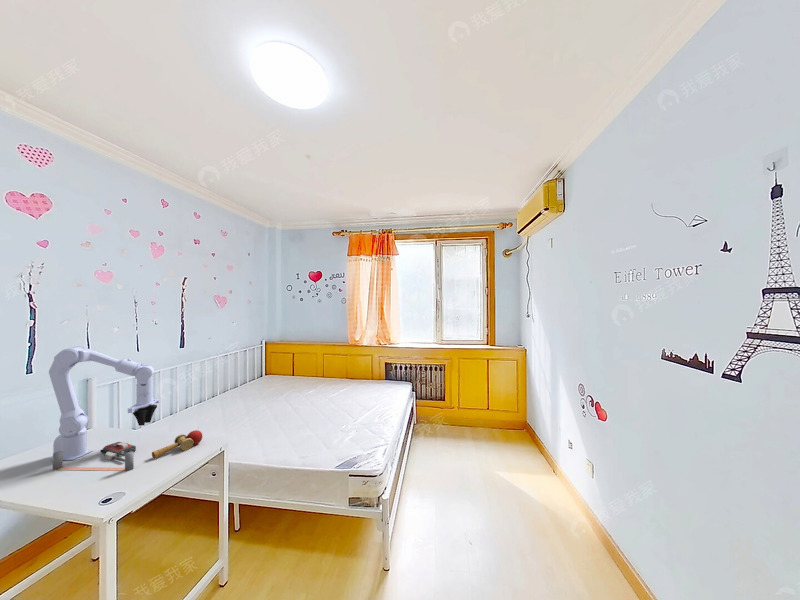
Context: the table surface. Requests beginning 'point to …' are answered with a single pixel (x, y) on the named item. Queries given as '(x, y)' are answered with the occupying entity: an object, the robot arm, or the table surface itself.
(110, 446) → the walkie-talkie
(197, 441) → the kendama
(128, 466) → the finish line
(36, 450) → the table surface
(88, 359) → the robot arm
